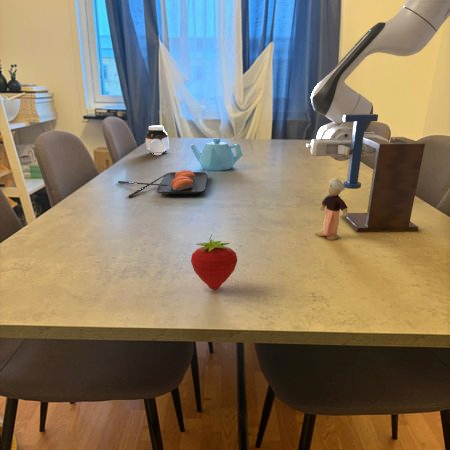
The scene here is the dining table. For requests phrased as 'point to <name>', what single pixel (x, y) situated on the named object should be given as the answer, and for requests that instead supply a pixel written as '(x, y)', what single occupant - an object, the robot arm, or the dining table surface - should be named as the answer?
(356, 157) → the peg
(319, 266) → the dining table surface
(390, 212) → the stand
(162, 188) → the sushi plate
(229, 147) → the teapot
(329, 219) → the grandmother figurine
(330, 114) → the robot arm
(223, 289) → the dining table surface
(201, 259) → the strawberry
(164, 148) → the spread jar
